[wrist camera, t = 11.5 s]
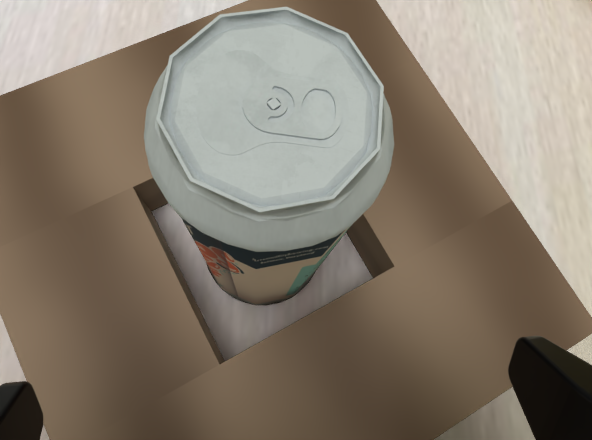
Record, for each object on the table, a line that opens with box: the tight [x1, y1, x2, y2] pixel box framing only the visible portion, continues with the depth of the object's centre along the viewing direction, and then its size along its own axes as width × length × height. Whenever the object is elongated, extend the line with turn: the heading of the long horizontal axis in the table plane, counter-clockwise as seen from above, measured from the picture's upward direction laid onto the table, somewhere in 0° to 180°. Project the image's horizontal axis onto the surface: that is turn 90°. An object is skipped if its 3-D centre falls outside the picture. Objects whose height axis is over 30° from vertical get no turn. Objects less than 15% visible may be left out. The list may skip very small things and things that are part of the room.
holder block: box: [0, 0, 592, 440], centre depth 18 cm, size 18×18×3 cm
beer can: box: [144, 7, 394, 305], centre depth 14 cm, size 5×5×12 cm
